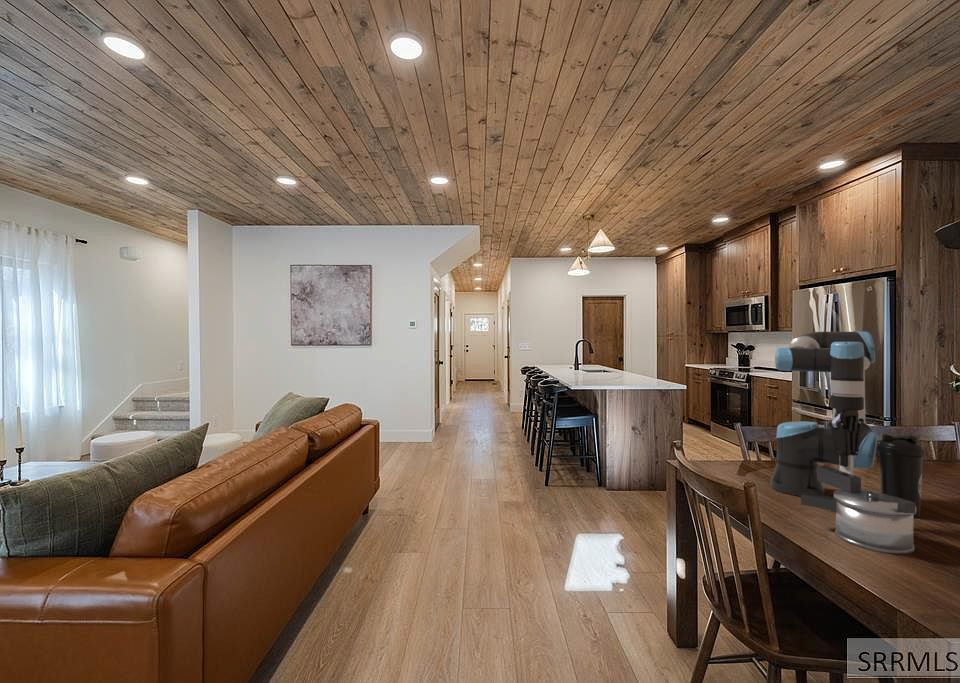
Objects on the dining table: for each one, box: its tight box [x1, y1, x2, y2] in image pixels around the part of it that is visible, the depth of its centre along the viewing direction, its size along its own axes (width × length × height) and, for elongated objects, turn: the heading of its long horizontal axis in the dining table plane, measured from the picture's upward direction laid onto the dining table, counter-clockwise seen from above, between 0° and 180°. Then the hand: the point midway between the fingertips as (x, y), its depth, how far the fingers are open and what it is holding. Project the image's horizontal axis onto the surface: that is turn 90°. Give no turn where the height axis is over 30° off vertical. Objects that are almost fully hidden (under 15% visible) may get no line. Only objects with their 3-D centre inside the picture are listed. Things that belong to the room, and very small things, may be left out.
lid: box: [817, 466, 916, 516], centre depth 120 cm, size 25×16×5 cm, turn 4°
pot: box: [800, 492, 915, 555], centre depth 119 cm, size 23×15×9 cm
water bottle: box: [877, 433, 925, 519], centre depth 136 cm, size 10×10×23 cm
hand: (846, 477), depth 130 cm, fingers closed
